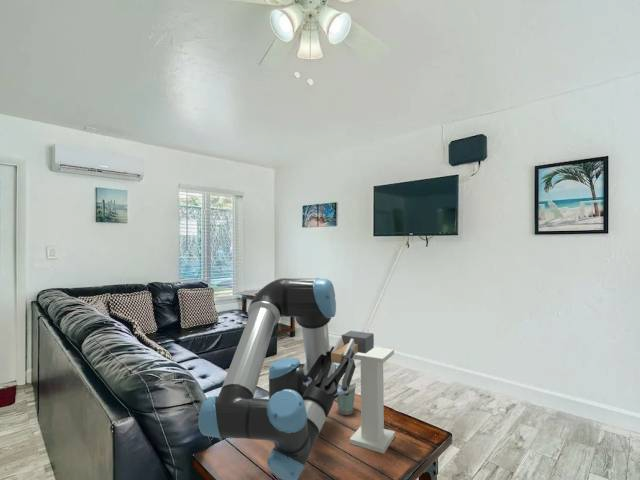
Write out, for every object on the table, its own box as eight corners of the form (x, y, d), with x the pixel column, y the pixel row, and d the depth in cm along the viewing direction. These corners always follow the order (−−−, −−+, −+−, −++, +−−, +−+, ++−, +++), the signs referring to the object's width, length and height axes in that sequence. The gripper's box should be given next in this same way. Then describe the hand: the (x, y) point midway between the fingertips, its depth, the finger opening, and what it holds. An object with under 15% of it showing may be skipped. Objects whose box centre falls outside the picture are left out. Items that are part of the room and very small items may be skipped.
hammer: (349, 365, 92) (349, 348, 92) (323, 360, 96) (323, 344, 96) (373, 347, 108) (373, 333, 108) (350, 344, 112) (350, 330, 112)
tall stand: (383, 453, 109) (382, 358, 110) (349, 443, 115) (348, 353, 116) (394, 435, 119) (393, 349, 120) (363, 427, 125) (362, 345, 126)
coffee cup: (336, 406, 142) (335, 377, 143) (356, 407, 141) (356, 378, 141) (334, 416, 134) (333, 385, 134) (355, 417, 133) (355, 386, 133)
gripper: (289, 412, 88) (326, 347, 106) (346, 428, 80) (375, 354, 98) (281, 392, 85) (320, 328, 103) (339, 406, 77) (370, 334, 95)
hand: (347, 341), depth 100 cm, fingers closed on hammer, 3 cm apart
